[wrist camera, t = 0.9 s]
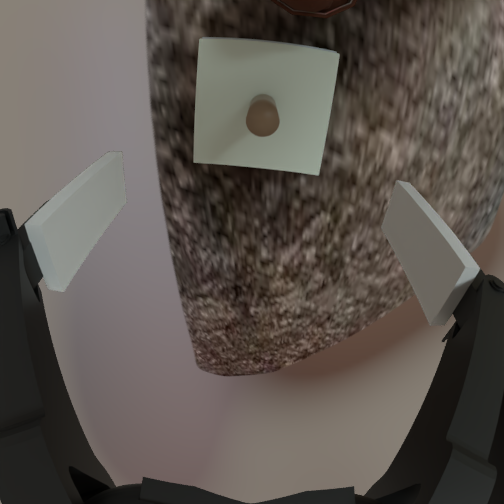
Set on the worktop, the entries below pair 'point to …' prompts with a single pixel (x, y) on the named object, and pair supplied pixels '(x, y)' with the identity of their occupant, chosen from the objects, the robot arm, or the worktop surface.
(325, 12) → the ice cream bowl
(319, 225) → the worktop surface
